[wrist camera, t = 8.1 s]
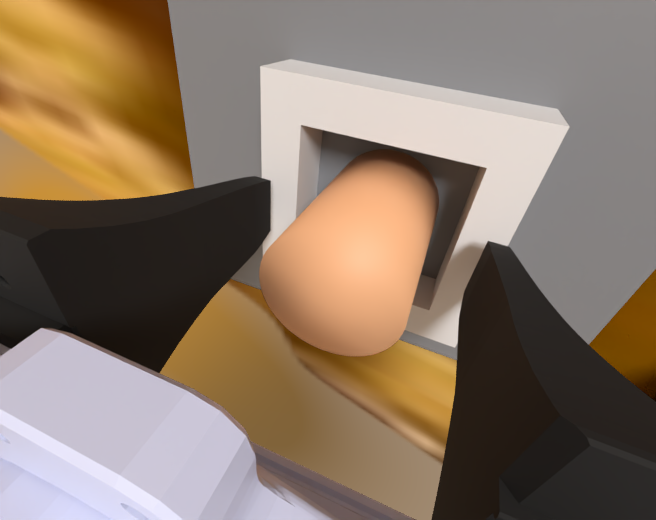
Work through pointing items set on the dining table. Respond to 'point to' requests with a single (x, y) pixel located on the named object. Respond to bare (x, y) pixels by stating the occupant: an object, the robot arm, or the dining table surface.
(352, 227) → the peach rounded egg part
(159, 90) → the dining table surface
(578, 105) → the dock board
